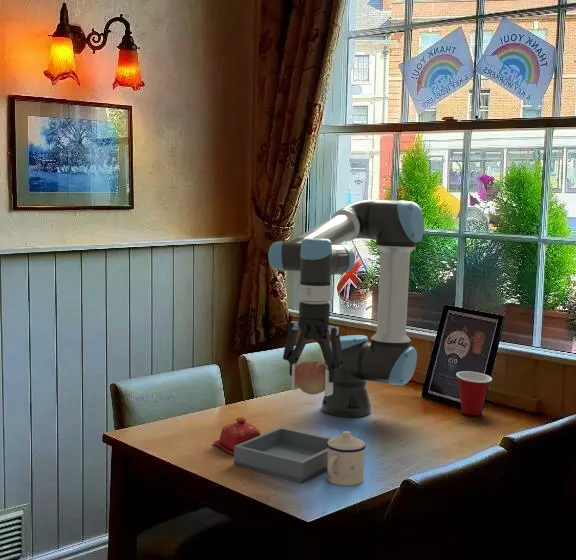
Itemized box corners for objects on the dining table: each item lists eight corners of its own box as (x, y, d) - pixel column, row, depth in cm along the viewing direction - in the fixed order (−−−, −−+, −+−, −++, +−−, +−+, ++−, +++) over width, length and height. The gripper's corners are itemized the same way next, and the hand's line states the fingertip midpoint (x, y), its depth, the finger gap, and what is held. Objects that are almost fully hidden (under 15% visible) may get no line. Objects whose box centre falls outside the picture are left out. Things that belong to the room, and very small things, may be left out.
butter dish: (271, 451, 212) (271, 420, 211) (231, 459, 206) (232, 426, 205) (248, 439, 221) (249, 409, 220) (210, 446, 215) (211, 415, 214)
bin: (233, 465, 200) (234, 446, 200) (280, 445, 217) (280, 427, 216) (302, 484, 189) (302, 463, 188) (345, 460, 205) (346, 441, 205)
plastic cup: (479, 420, 244) (481, 381, 242) (447, 413, 251) (449, 374, 250) (496, 413, 252) (498, 375, 251) (465, 406, 259) (467, 369, 258)
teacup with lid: (338, 470, 199) (339, 423, 197) (371, 478, 193) (373, 430, 192) (311, 484, 189) (312, 435, 187) (345, 493, 184) (347, 443, 182)
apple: (304, 398, 197) (305, 366, 196) (288, 390, 205) (289, 358, 204) (336, 395, 200) (337, 363, 200) (319, 387, 208) (320, 356, 207)
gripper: (269, 299, 203) (267, 388, 205) (345, 307, 191) (342, 402, 193) (286, 296, 209) (283, 382, 211) (360, 304, 197) (357, 395, 200)
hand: (312, 391), depth 202 cm, fingers closed on apple, 9 cm apart
